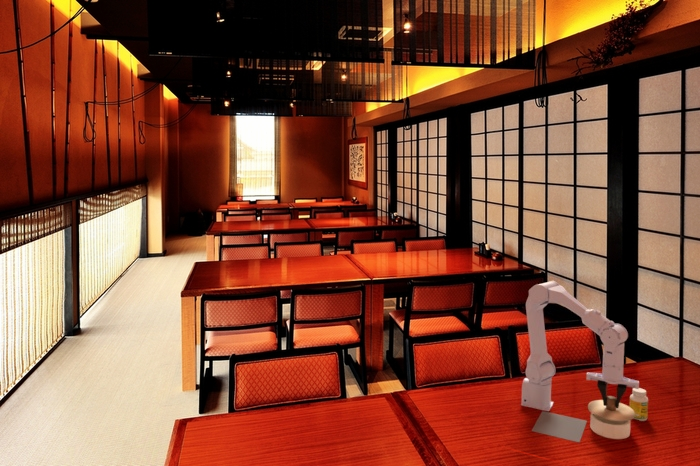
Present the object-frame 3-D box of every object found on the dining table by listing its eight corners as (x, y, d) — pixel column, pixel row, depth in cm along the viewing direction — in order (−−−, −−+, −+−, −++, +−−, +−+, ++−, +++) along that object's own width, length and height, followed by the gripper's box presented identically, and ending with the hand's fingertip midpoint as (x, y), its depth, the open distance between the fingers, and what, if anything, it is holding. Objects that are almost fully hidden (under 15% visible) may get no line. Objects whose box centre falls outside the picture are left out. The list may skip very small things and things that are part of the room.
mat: (531, 432, 163) (531, 430, 163) (542, 412, 177) (542, 410, 177) (579, 443, 156) (579, 442, 156) (587, 422, 170) (587, 420, 170)
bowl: (588, 435, 162) (589, 419, 161) (593, 420, 171) (593, 406, 170) (628, 444, 156) (629, 428, 155) (630, 429, 165) (631, 414, 165)
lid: (584, 414, 161) (585, 400, 160) (591, 399, 171) (591, 386, 171) (632, 424, 154) (633, 410, 153) (636, 408, 164) (636, 394, 164)
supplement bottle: (634, 412, 176) (635, 385, 175) (650, 418, 172) (652, 390, 170) (625, 416, 173) (627, 389, 172) (641, 423, 169) (643, 394, 168)
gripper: (585, 363, 161) (584, 405, 163) (638, 372, 154) (636, 416, 155) (588, 356, 167) (587, 397, 169) (640, 364, 160) (638, 407, 161)
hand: (611, 405), depth 162 cm, fingers closed on lid, 3 cm apart
